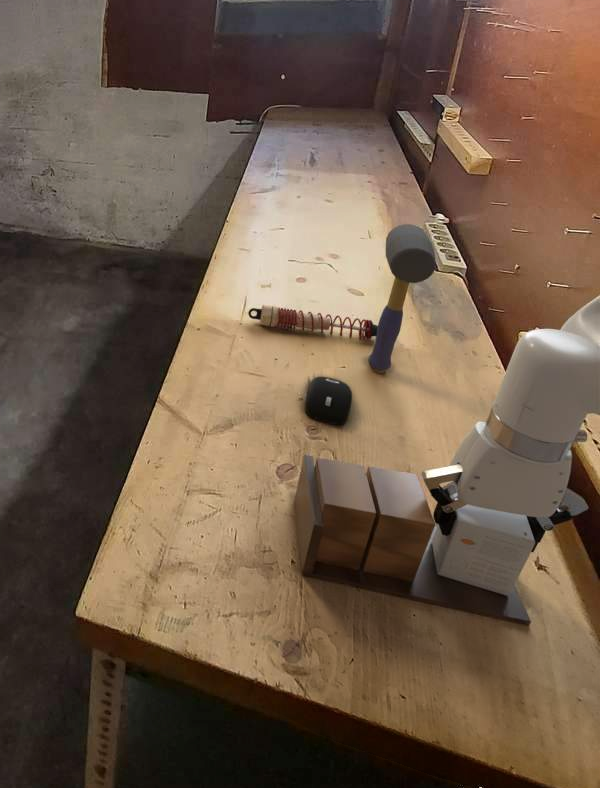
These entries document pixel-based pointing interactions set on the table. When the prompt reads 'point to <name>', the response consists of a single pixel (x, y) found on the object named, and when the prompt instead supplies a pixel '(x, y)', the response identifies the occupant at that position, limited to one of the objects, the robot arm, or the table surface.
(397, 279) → the rubber mallet
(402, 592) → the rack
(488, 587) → the small box
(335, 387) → the portable bluetooth speaker
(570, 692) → the table surface
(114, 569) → the table surface
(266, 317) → the shock absorber
